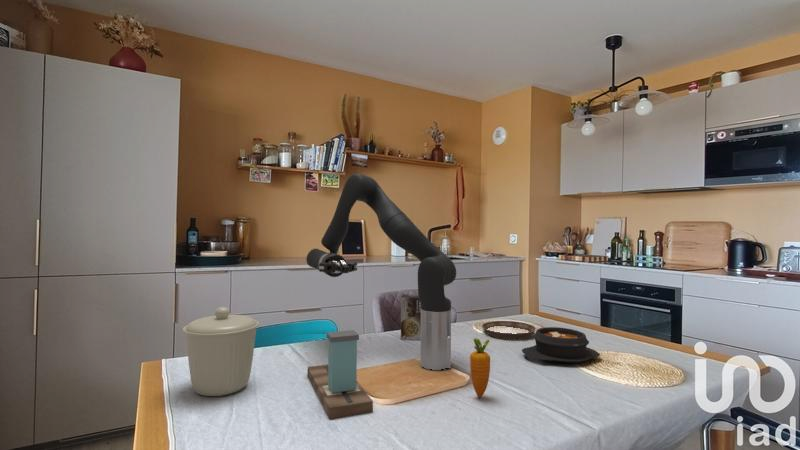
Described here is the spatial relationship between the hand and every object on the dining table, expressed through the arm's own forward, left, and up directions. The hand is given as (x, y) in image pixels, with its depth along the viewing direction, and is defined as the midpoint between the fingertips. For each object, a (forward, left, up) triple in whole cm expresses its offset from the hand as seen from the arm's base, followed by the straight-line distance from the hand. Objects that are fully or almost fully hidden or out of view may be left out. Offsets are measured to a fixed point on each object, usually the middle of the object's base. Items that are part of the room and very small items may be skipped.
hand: (346, 269), depth 121 cm
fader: (-5, +21, -26) cm, 34 cm away
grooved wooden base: (-2, +17, -29) cm, 34 cm away
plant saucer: (-53, -49, -30) cm, 79 cm away
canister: (+28, +19, -30) cm, 45 cm away
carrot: (-38, +15, -30) cm, 51 cm away
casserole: (-66, -21, -30) cm, 76 cm away
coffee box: (-16, -37, -30) cm, 50 cm away
